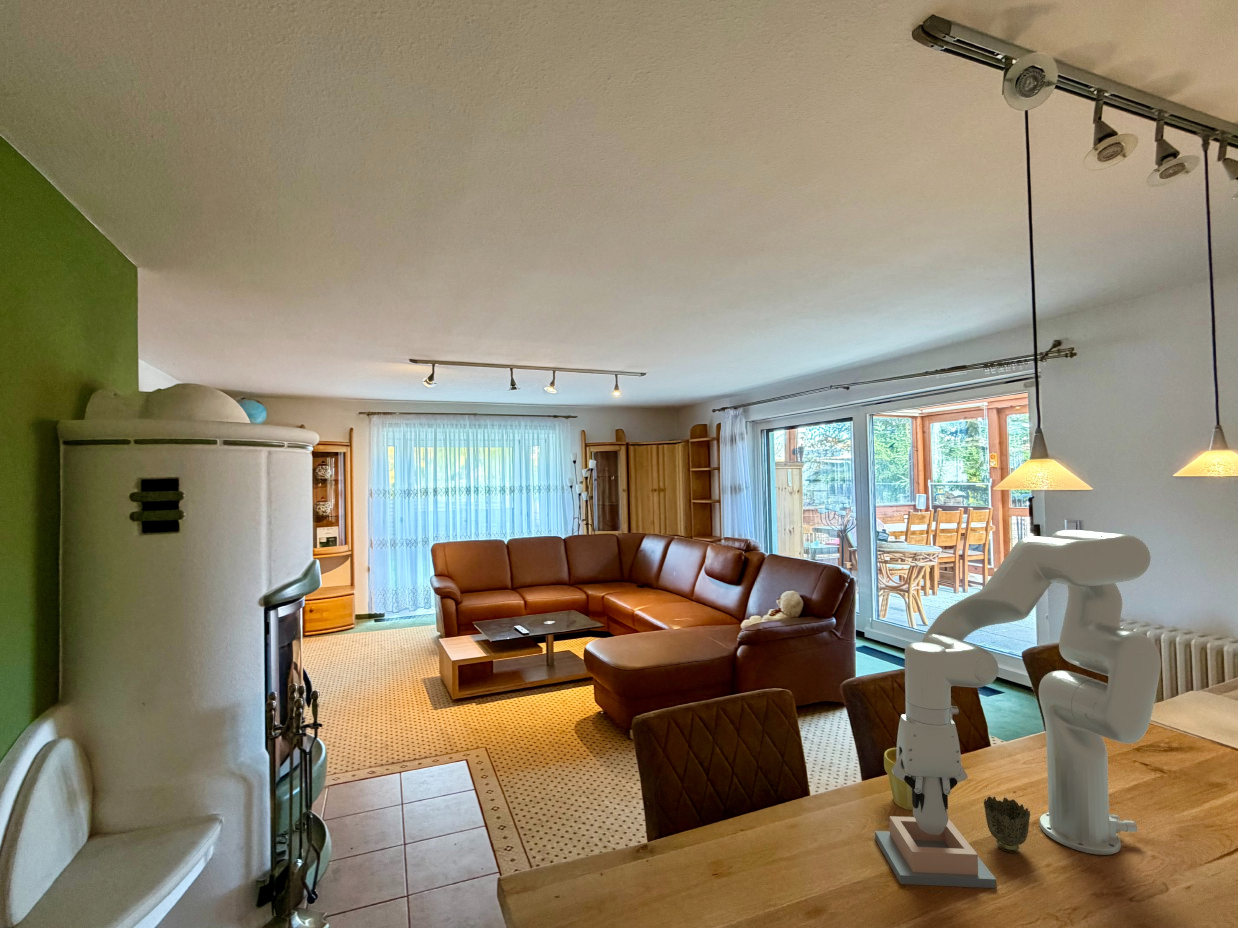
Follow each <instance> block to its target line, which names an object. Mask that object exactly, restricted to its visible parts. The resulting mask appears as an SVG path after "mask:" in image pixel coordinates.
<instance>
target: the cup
mask: <svg viewBox="0 0 1238 928" xmlns="http://www.w3.org/2000/svg"><path fill="white" fill-rule="evenodd" d="M983 807H984V813H985V819H986V825H987V828H988V830H989V832H990V834H991V835H992V837H993V838H994V839H996V840H995V842H996V845H997V847H998V848H999V849H1001V850H1002V851H1003V852H1007V853H1018V851H1019V850H1020V845H1023V844H1024V843H1025V842H1026V840H1027V837H1028V835H1029V828H1030V820H1031V812H1030V810H1029V808H1028V807H1026V808H1025V806H1024V805H1023V803H1021V804H1019V803H1018V802H1017V801H1016V799H1008V798H1007V797H1003V799H1002V800H1001V799H999V800H998V799H996V796H990V795H989V796H987V798H984V800H983Z"/></svg>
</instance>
